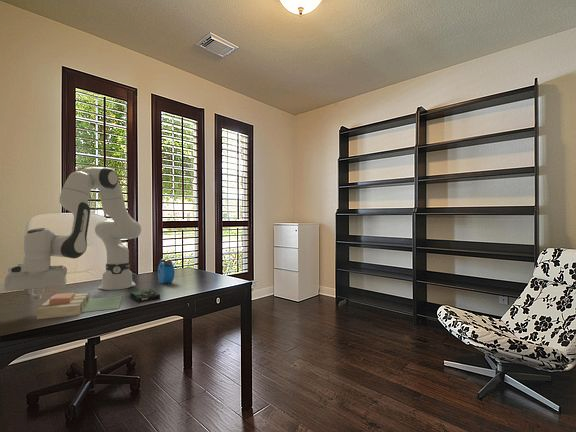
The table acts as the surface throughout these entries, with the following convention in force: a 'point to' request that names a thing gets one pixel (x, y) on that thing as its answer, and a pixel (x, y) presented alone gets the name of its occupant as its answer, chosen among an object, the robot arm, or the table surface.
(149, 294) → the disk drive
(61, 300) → the orange flat block
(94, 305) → the mat
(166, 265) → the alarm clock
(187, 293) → the table surface
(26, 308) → the table surface
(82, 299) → the riser
